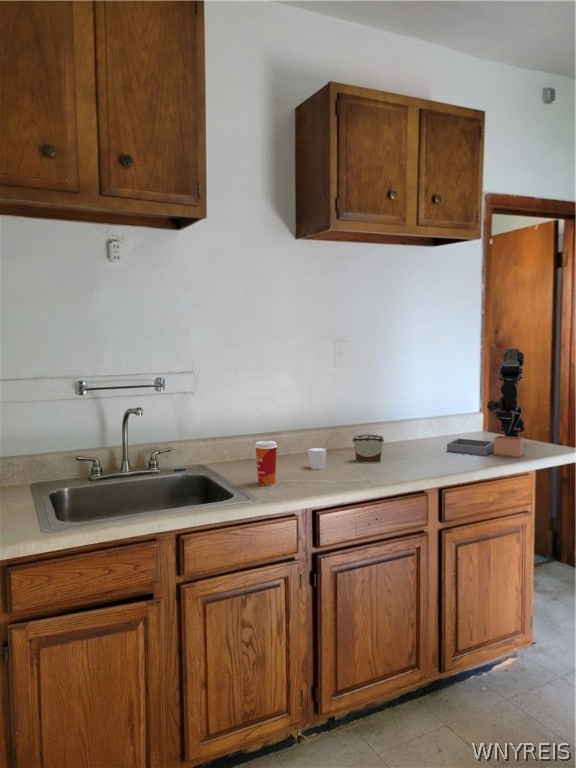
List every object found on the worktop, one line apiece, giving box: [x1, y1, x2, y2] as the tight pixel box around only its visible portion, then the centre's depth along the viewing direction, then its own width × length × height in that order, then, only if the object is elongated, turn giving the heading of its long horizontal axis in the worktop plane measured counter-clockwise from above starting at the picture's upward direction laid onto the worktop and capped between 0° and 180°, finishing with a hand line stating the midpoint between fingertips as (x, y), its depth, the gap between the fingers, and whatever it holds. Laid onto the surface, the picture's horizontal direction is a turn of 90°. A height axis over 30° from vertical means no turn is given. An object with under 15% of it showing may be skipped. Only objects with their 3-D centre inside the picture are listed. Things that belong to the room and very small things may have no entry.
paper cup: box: [254, 440, 278, 485], centre depth 193 cm, size 8×8×14 cm
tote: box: [493, 435, 525, 459], centre depth 232 cm, size 6×10×7 cm, turn 56°
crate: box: [446, 437, 494, 457], centre depth 240 cm, size 14×16×4 cm
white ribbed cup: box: [307, 447, 327, 470], centre depth 215 cm, size 7×7×7 cm
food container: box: [352, 433, 385, 463], centre depth 225 cm, size 12×6×10 cm, turn 84°
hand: (509, 432), depth 231 cm, fingers open, 9 cm apart
